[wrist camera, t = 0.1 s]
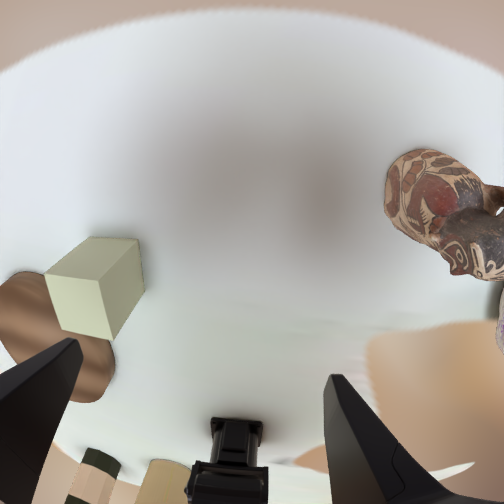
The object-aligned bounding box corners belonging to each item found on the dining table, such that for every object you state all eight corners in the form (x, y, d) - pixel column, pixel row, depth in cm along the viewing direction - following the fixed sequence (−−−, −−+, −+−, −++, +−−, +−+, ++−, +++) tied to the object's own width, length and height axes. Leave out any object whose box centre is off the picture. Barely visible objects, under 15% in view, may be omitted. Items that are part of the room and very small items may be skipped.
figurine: (364, 188, 21) (447, 259, 10) (425, 129, 18) (539, 152, 7) (412, 251, 23) (489, 342, 12) (467, 197, 20) (565, 256, 9)
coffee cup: (174, 479, 45) (163, 527, 34) (137, 459, 42) (121, 510, 31) (206, 474, 42) (197, 529, 31) (166, 453, 39) (151, 513, 28)
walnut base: (130, 399, 33) (122, 416, 30) (32, 369, 34) (23, 381, 31) (93, 280, 26) (78, 297, 23) (-12, 264, 26) (-26, 276, 23)
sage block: (145, 290, 26) (113, 340, 19) (99, 285, 26) (61, 329, 19) (138, 239, 24) (98, 280, 17) (89, 236, 24) (43, 273, 17)
